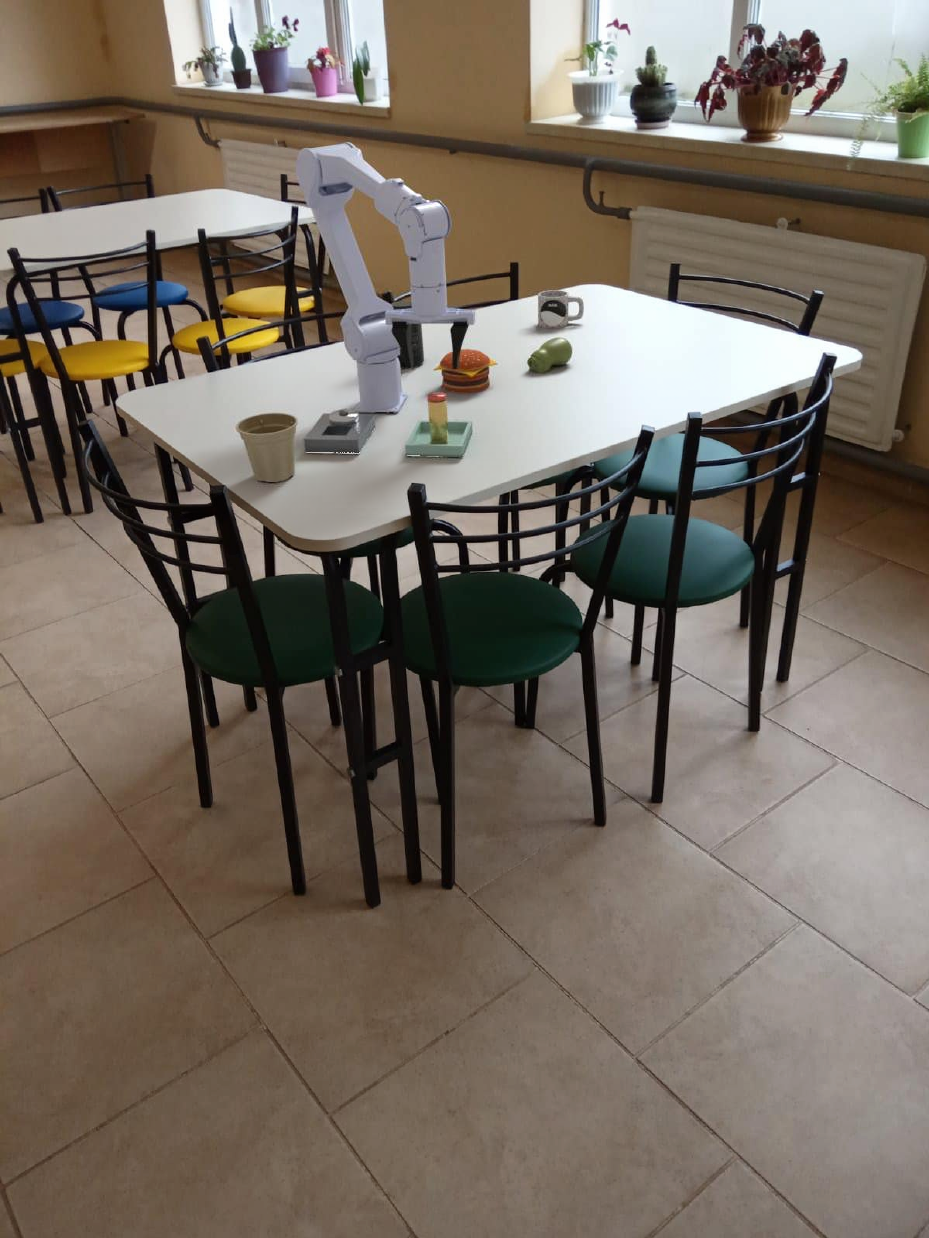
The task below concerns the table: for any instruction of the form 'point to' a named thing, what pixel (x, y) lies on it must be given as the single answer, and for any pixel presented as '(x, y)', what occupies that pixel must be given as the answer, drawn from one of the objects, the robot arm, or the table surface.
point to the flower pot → (270, 445)
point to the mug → (556, 308)
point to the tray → (454, 448)
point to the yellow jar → (438, 418)
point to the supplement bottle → (416, 338)
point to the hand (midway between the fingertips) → (433, 367)
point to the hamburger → (466, 371)
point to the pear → (550, 355)
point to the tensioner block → (340, 432)
